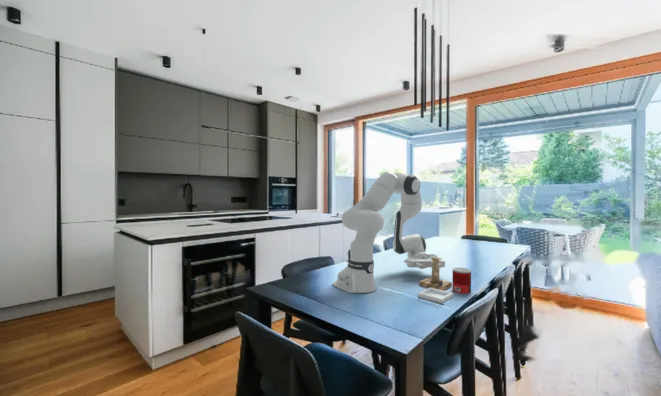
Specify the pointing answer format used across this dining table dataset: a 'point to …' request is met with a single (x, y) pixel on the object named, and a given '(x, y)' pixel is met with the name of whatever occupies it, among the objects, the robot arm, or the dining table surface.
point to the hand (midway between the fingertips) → (430, 266)
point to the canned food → (462, 280)
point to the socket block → (441, 284)
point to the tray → (435, 295)
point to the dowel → (435, 269)
